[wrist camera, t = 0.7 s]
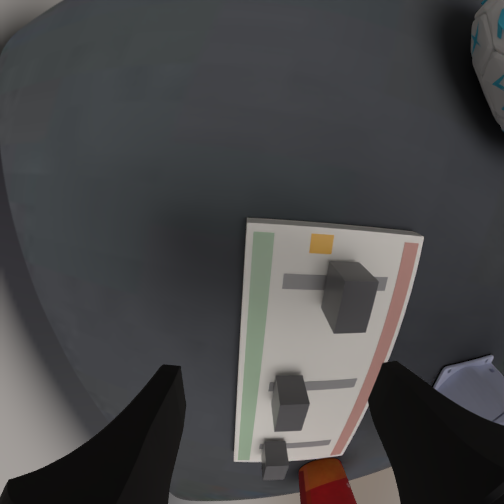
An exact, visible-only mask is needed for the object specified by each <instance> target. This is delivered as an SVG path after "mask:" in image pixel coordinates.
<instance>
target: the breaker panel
mask: <svg viewBox="0 0 504 504" xmlns="http://www.w3.org/2000/svg"><path fill="white" fill-rule="evenodd" d="M423 240H424V236H422V235H420V234H418V233H416V232H414V231H407V230H397V229H388V228H378V227H367V226H356V225H345V224H334V223H321V222H308V221H295V220H280V219H265V218H248V217H247V223H246V239H245V255H244V272H243V289H242V307H241V324H240V343H239V361H238V380H237V400H236V420H235V441H234V462H262V461H261V456H262V450H263V445H264V441H286V447H287V454H288V461H297V460H309V459H319V458H327V457H335V456H342V455H343V453H344V451H345V450H346V448H347V446H348V444H349V443H350V441H351V439H352V437H353V435H354V434H355V432H356V430H357V428H358V426H359V424H360V422H361V420H362V418H363V416H364V414H365V412H366V410H367V408H368V406H369V404H368V398H369V396H370V393H371V391H372V389H373V386H374V384H375V381H376V379H377V376H378V374H379V371H380V368H381V366H382V363H385V362H388V360H389V357H390V354H391V352H392V349H393V346H394V344H395V341H396V338H397V335H398V332H399V329H400V326H401V323H402V320H403V317H404V314H405V311H406V308H407V304H408V301H409V297H410V294H411V290H412V287H413V283H414V279H415V275H416V271H417V267H418V263H419V259H420V254H421V250H422V245H423ZM329 261H344V262H359V263H360V264H361V265H363V266H364V267H365V268H366V269H367V270H368V271H369V272H370V273H371V274H372V275H373V276H374V277H375V278H376V279H377V280H378V281H379V284H378V288H377V292H376V296H375V300H374V304H373V308H372V312H371V316H370V319H369V323H368V326H367V330H366V333H344V334H333V331H332V329H331V327H330V325H329V323H328V321H327V319H326V317H325V315H324V313H323V311H322V309H321V305H322V300H323V294H324V289H325V283H326V277H327V271H328V265H329ZM276 375H303V379H304V383H305V387H306V391H307V394H308V398H309V402H310V405H309V408H308V412H307V415H306V418H305V421H304V424H303V427H302V430H301V431H285V432H274V425H273V416H272V407H271V401H272V395H273V389H274V383H275V377H276Z"/></svg>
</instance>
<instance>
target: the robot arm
mask: <svg viewBox="0 0 504 504" xmlns="http://www.w3.org/2000/svg"><path fill="white" fill-rule="evenodd" d="M493 357H494V356H493V355H489V356H485V357H482V358H478V359H474V360H471V361H467V362H463V363H459V364H455V365H450V366H446V367H444V368H443V369H442V371H441V373H440V375H439V377H438V379H437V381H436V383H435V384H434V386H433V387H431V386H430V385H429V384H427V383H426V382H425V381H423V380H422V379H421V378H419V377H418V376H417V375H415V374H414V373H413V372H411V371H410V370H409V369H407V368H406V367H404V366H403V365H401V364H400V363H398V362H397V361H392V362H385V363H382V366H381V368H380V371H379V374H378V376H377V379H376V381H375V384H374V386H373V389H372V391H371V393H370V396H369V398H368V404H369V408H370V412H371V415H372V419H373V422H374V425H375V427H376V430H377V432H378V434H379V437H380V439H381V442H382V444H383V446H384V449H385V451H386V453H387V456H388V458H389V461H390V463H391V466H392V469H393V471H394V475H395V479H396V483H397V487H398V491H399V496H400V502H401V504H504V376H503V375H502V374H501V373H500V372H499V371H498V370H497V369H496V367H495V366H494V365H493V364H492V363H491V362H492V360H493ZM185 410H186V401H185V394H184V388H183V380H182V373H181V366H174V365H164V364H163V365H162V366H161V367H160V368H159V369H158V371H157V372H156V373H155V374H154V376H153V377H152V378H151V379H150V381H149V382H148V383H147V384H146V385H145V387H144V388H143V389H142V390H141V391H140V393H139V394H138V395H137V396H136V397H135V398H134V399H133V400H132V401H131V403H130V404H129V405H128V406H127V407H126V408H125V409H124V410H123V411H122V412H121V413H120V414H119V415H118V416H117V417H116V418H115V419H114V420H113V421H112V422H111V423H109V424H108V425H107V426H106V427H105V428H104V429H103V430H101V431H100V432H99V433H98V434H96V435H95V436H94V437H93V438H91V439H90V440H89V441H87V442H86V443H84V444H83V445H82V446H80V447H79V448H77V449H76V450H74V451H73V452H71V453H70V454H68V455H66V456H64V457H63V458H61V459H59V460H57V461H55V462H53V463H51V464H49V465H47V466H45V467H43V468H41V469H38V470H36V471H34V472H31V473H28V474H25V475H22V476H19V477H16V478H13V479H10V480H8V482H7V484H6V486H5V488H4V490H3V492H2V494H1V497H0V504H168V498H169V488H170V483H171V477H172V473H173V469H174V465H175V461H176V457H177V453H178V449H179V445H180V441H181V436H182V432H183V427H184V419H185Z"/></svg>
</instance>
